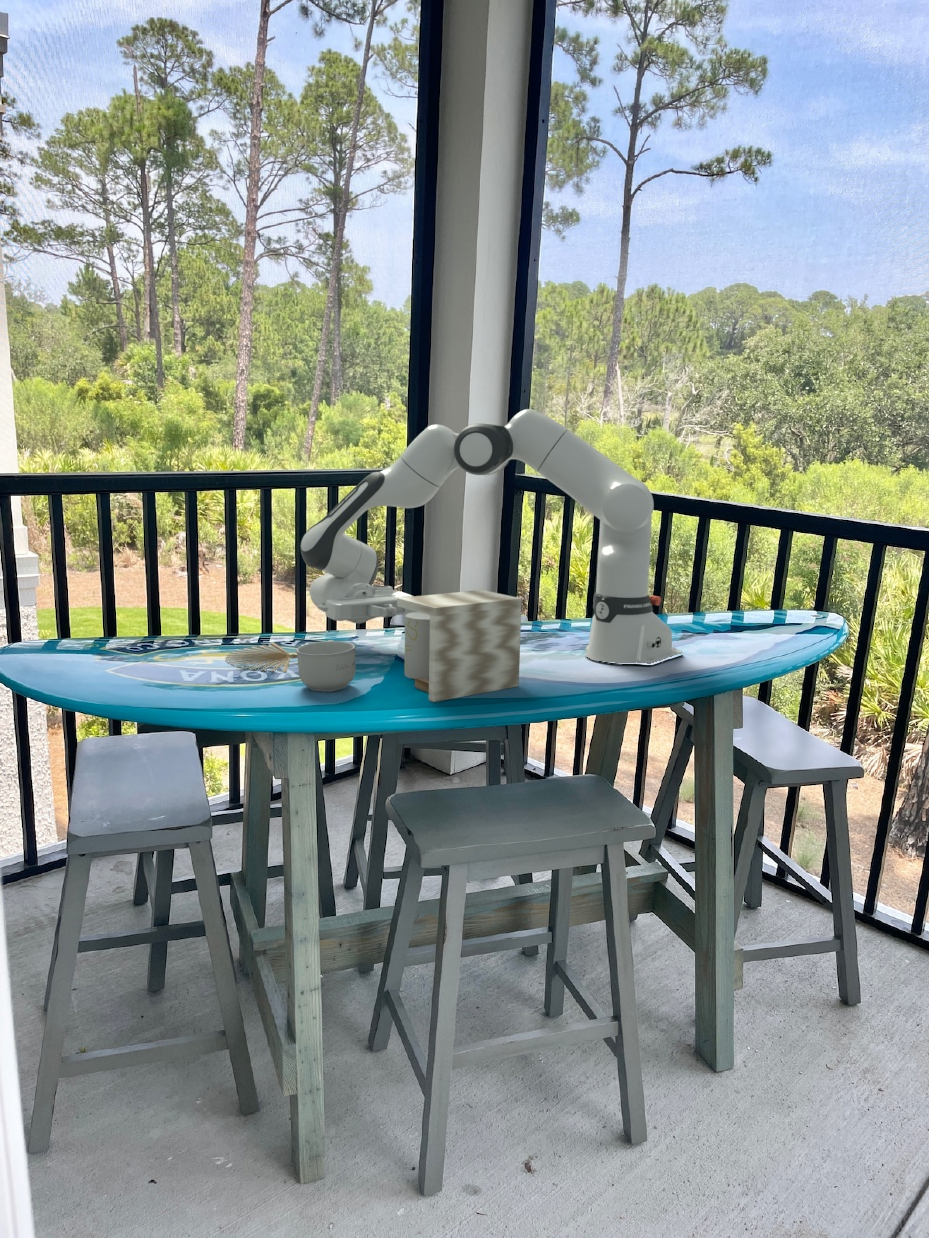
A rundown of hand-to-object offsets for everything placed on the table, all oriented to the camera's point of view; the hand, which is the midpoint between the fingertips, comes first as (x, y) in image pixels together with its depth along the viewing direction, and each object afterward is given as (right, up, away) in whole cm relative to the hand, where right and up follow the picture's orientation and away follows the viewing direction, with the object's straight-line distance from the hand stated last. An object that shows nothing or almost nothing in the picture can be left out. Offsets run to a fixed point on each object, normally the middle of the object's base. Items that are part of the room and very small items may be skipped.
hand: (390, 612), depth 186 cm
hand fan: (-27, -10, +3) cm, 29 cm away
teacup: (-10, -14, -17) cm, 24 cm away
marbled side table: (+14, -14, -16) cm, 26 cm away
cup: (+7, -13, -7) cm, 16 cm away
